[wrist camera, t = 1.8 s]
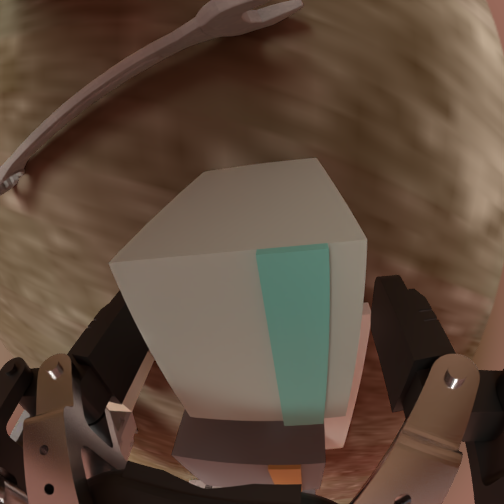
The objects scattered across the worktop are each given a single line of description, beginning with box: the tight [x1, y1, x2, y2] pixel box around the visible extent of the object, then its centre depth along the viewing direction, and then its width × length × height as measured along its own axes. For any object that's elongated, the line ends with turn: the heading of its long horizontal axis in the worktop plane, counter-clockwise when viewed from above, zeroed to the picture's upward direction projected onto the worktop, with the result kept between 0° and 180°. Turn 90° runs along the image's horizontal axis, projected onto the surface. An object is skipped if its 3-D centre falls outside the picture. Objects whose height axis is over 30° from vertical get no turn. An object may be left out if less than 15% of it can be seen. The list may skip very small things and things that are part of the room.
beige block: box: [106, 351, 155, 412], centre depth 17 cm, size 4×4×5 cm
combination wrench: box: [0, 0, 304, 195], centre depth 10 cm, size 4×1×20 cm
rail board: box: [171, 302, 371, 494], centre depth 16 cm, size 19×12×9 cm, turn 9°
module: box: [109, 158, 367, 426], centre depth 10 cm, size 6×5×8 cm
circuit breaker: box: [10, 410, 138, 461], centre depth 18 cm, size 8×14×15 cm, turn 167°
